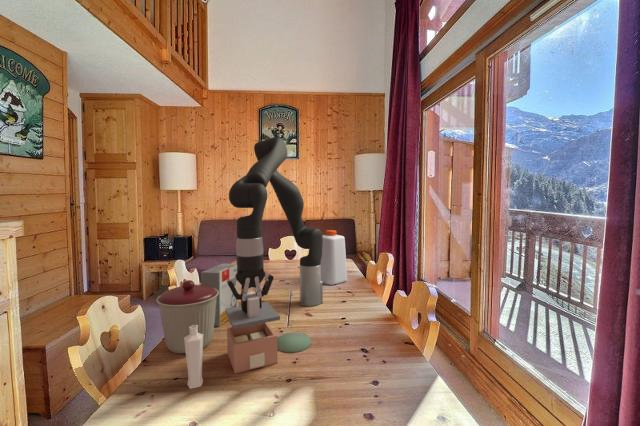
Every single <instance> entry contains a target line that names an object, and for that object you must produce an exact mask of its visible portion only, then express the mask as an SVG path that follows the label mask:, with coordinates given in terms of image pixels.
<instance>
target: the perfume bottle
mask: <svg viewBox="0 0 640 426" xmlns="http://www.w3.org/2000/svg"><path fill="white" fill-rule="evenodd" d="M189 328H190V334H189V335H188V336H186V337H184V342H185V351H186V353H185V358H186V368H187V377H188V379H187V386H188V388H189V389H190V390H192V389H195V388H200V387H201V386H202V385H203V382H204V378H203V375H202V374H203V355H204V348H203V336H204V334H200V333H198V325H192V326H190V327H189Z"/></svg>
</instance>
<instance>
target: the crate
mask: <svg viewBox="0 0 640 426" xmlns="http://www.w3.org/2000/svg"><path fill="white" fill-rule="evenodd" d="M277 337H278V335H277V334H276V332H275V330H273V328H272V327H271V325H270V324H269V322H266V323H261V324H256V325H251V326H246V327H241V328H236V329H233V328H232V326H231V325H230V326H227V327H226V343H227V348H226V349H227V356H228V358H229V361H230V364H231V367H232V370H233V373H234V374H239V373H243V372H247V371H252V370H255V369H259V368H262V367H267V366H271V365H274V364H275V365H276V364H278V350H277Z"/></svg>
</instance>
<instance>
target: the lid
mask: <svg viewBox="0 0 640 426" xmlns="http://www.w3.org/2000/svg"><path fill="white" fill-rule="evenodd" d="M254 291H255V290H254ZM254 291H248V293H247V298H246V300H247V313H244V311H242V309H241V305H239V306H238V307H232V308H226V309H225V312H226V315H227V317H228V321H229V324H230V327H231V326H232V328H233V329H236V328H241V327H246V326H251V325H256V324H261V323H266V322H267V323H272V322H275V321H276V322H277V321H280V320H281V316H280V315H279V313H278V312H277V311H276V310H275V309H274V308H273V307H272V305H271V304H270V303H269V302H268V301H262V307H261V308H260V303H259V298H258V296H257V295H256V293H255V292H254Z"/></svg>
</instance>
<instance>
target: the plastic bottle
mask: <svg viewBox="0 0 640 426" xmlns="http://www.w3.org/2000/svg"><path fill="white" fill-rule="evenodd" d="M322 236H323V246H322V258H321V281H322V282H323V284H325V285H328V286H335V284H336V285H338V284H342V283H345V282H347V280H348V268H347V256H346V255H347V254H346V253H347V252H346V240H345V239H346V238H345V236H343V235H340V234H337V230H334V229H329V230H328V229H326V230H325V234H322Z"/></svg>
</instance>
